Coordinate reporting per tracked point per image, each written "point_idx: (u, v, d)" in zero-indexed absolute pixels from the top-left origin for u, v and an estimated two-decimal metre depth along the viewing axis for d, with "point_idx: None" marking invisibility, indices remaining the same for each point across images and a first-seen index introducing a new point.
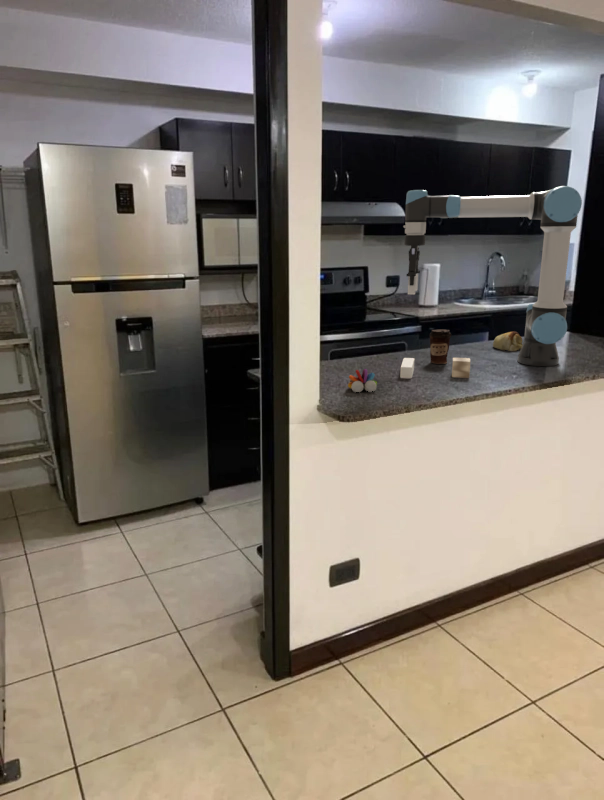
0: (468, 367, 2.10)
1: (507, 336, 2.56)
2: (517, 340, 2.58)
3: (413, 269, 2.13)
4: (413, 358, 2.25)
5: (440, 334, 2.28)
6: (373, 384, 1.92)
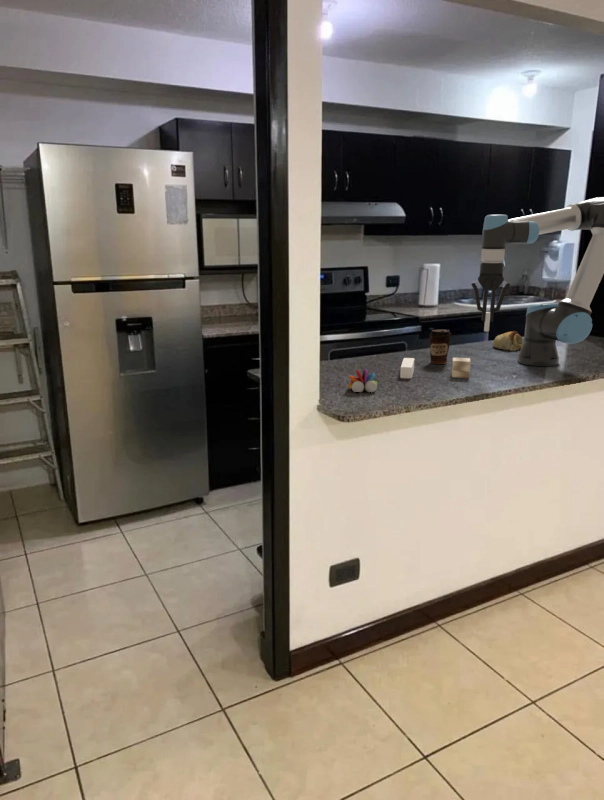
0: (468, 367, 2.10)
1: (507, 336, 2.57)
2: (517, 340, 2.59)
3: None
4: (413, 358, 2.25)
5: (440, 334, 2.28)
6: (373, 384, 1.92)
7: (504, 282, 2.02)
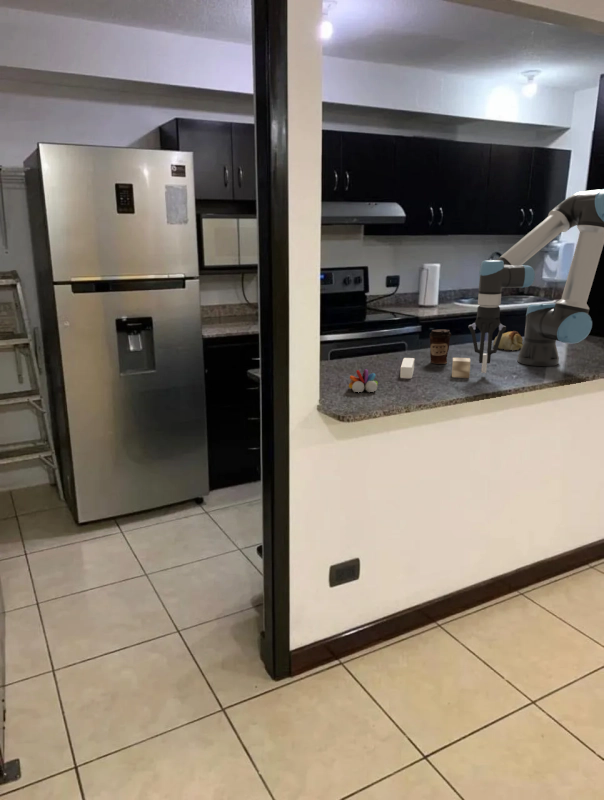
0: (468, 367, 2.10)
1: (507, 336, 2.57)
2: (517, 340, 2.59)
3: (474, 347, 2.10)
4: (413, 358, 2.25)
5: (440, 334, 2.28)
6: (374, 384, 1.92)
7: (501, 325, 2.06)
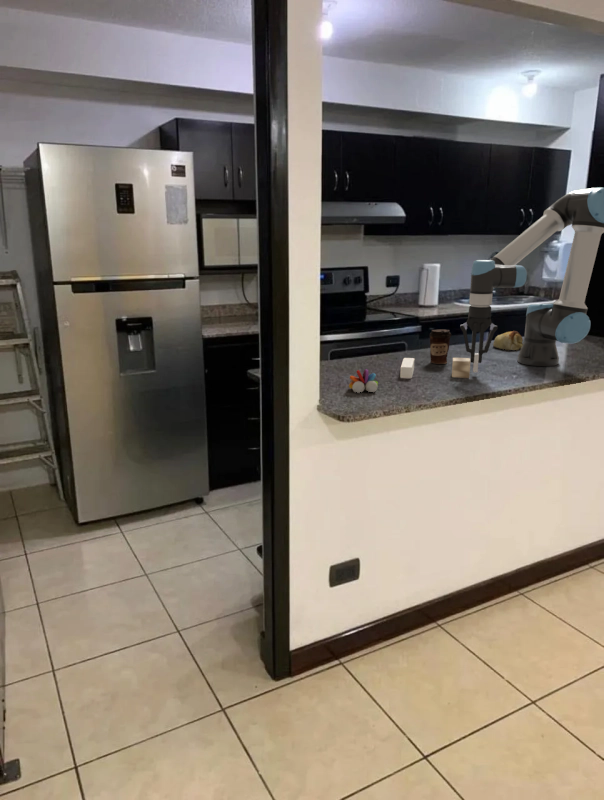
0: (468, 367, 2.10)
1: (508, 335, 2.58)
2: (517, 339, 2.59)
3: None
4: (413, 358, 2.25)
5: (440, 334, 2.28)
6: (374, 384, 1.92)
7: (492, 325, 2.07)
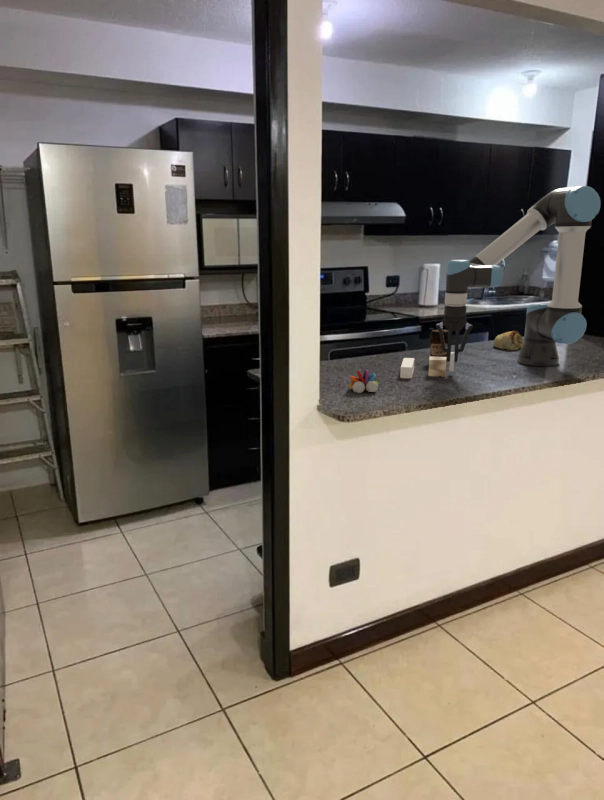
0: (444, 366, 2.12)
1: (508, 335, 2.58)
2: (518, 339, 2.60)
3: None
4: (413, 358, 2.25)
5: None
6: (374, 385, 1.92)
7: (467, 324, 2.09)
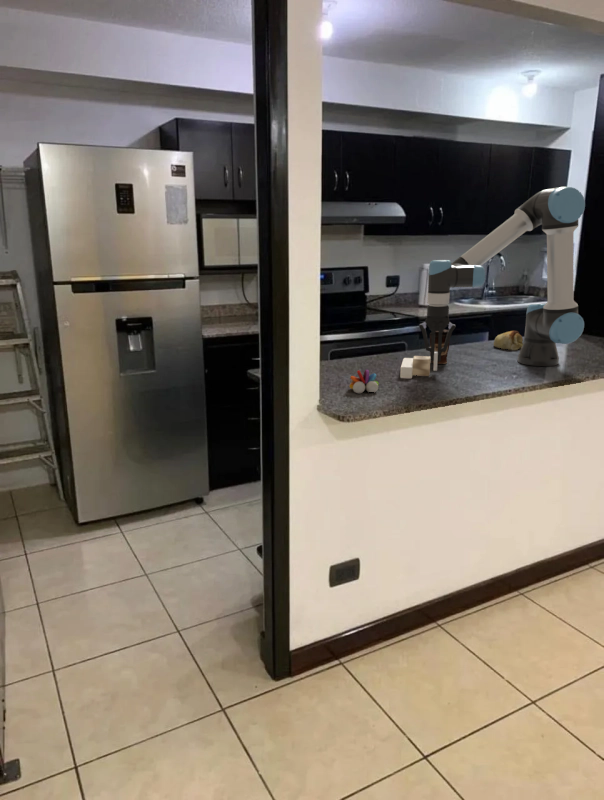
0: (428, 365, 2.13)
1: (508, 335, 2.58)
2: (518, 339, 2.60)
3: (425, 346, 2.14)
4: None
5: None
6: (375, 385, 1.92)
7: (450, 324, 2.10)
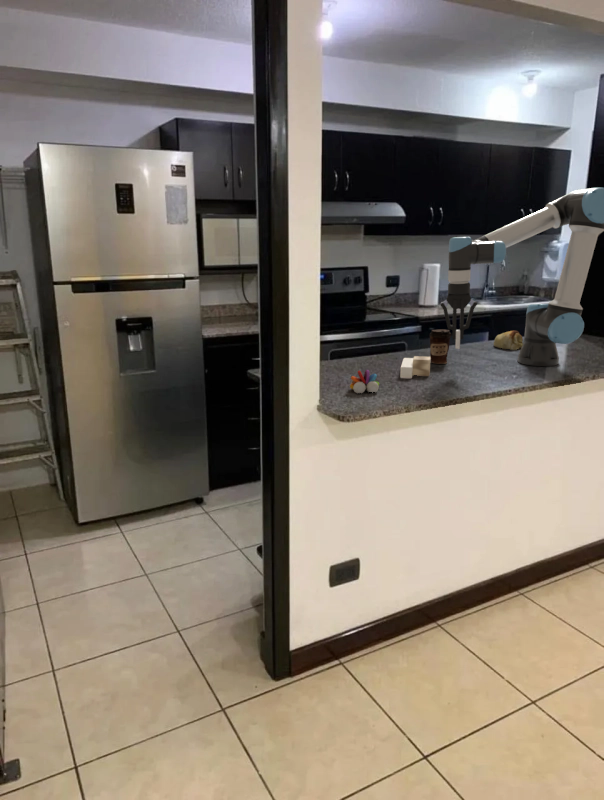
0: (428, 365, 2.13)
1: (508, 335, 2.59)
2: (518, 339, 2.60)
3: None
4: None
5: (440, 334, 2.28)
6: (375, 385, 1.91)
7: (471, 301, 2.09)
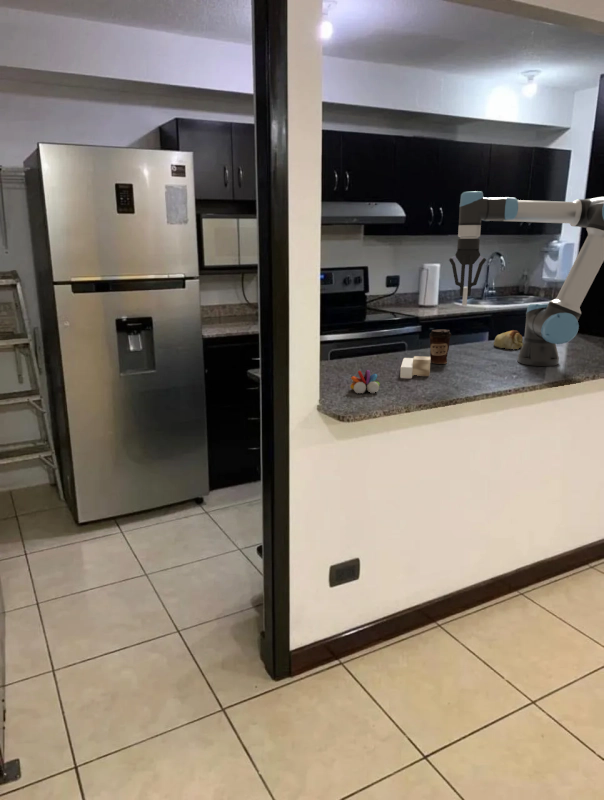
0: (428, 365, 2.13)
1: (508, 335, 2.59)
2: (518, 339, 2.61)
3: None
4: None
5: (440, 334, 2.28)
6: (376, 385, 1.91)
7: (480, 257, 2.09)
